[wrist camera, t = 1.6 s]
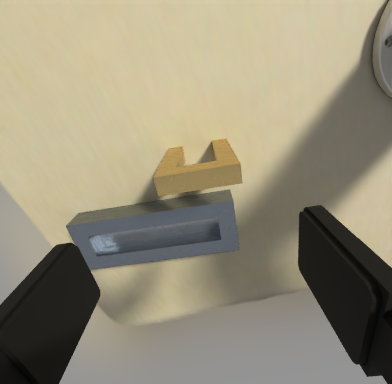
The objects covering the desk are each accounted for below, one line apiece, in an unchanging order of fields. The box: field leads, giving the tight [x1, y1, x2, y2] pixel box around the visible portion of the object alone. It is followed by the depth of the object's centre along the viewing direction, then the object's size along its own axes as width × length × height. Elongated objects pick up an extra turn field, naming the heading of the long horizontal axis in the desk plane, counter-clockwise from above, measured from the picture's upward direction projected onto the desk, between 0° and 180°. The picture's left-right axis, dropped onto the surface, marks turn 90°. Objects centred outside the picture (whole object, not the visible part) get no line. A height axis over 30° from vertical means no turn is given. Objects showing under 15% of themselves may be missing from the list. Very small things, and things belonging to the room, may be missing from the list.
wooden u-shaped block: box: [153, 139, 242, 196], centre depth 21 cm, size 7×2×9 cm, turn 100°
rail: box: [66, 190, 239, 270], centre depth 28 cm, size 20×7×3 cm, turn 100°
